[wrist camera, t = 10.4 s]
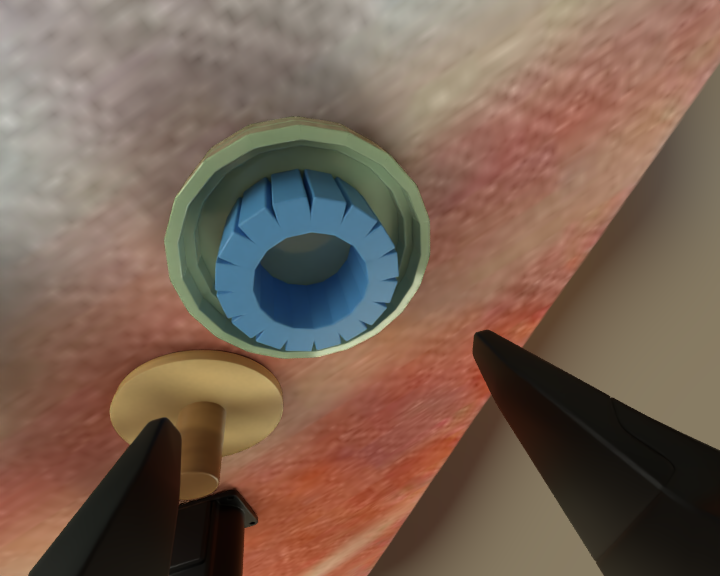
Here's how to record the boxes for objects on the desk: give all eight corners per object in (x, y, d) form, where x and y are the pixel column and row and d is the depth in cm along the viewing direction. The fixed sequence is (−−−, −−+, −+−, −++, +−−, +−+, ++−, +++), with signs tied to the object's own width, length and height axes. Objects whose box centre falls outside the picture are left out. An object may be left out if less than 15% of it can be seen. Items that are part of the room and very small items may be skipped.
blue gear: (382, 287, 19) (403, 328, 16) (253, 319, 18) (251, 368, 16) (367, 154, 15) (391, 178, 12) (197, 188, 14) (179, 223, 11)
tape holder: (298, 425, 26) (304, 498, 21) (162, 464, 24) (141, 548, 20) (256, 331, 20) (254, 406, 15) (76, 376, 19) (21, 470, 14)
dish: (414, 300, 21) (431, 327, 19) (231, 347, 20) (228, 381, 18) (405, 93, 14) (429, 99, 12) (126, 144, 13) (100, 162, 11)
